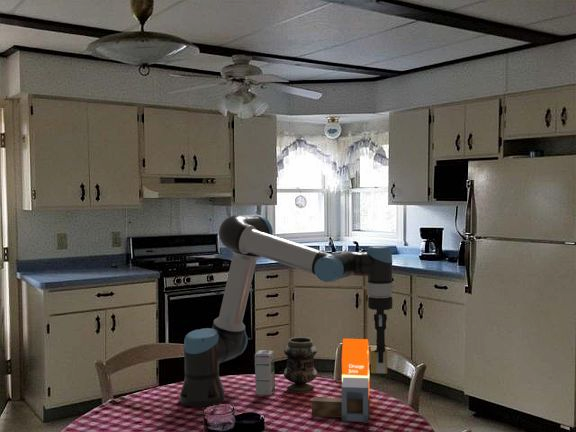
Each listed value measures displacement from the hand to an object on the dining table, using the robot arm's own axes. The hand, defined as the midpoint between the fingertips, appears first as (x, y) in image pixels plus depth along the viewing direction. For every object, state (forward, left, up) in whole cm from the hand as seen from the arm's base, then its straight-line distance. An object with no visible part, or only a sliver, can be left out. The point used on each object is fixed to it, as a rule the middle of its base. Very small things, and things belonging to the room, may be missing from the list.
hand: (380, 369), depth 193 cm
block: (-1, 0, 0) cm, 1 cm away
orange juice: (-8, +18, -15) cm, 25 cm away
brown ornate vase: (-28, +24, -15) cm, 40 cm away
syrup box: (-40, +19, -15) cm, 47 cm away
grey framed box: (-8, 0, -15) cm, 17 cm away
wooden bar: (-13, 0, -15) cm, 20 cm away
